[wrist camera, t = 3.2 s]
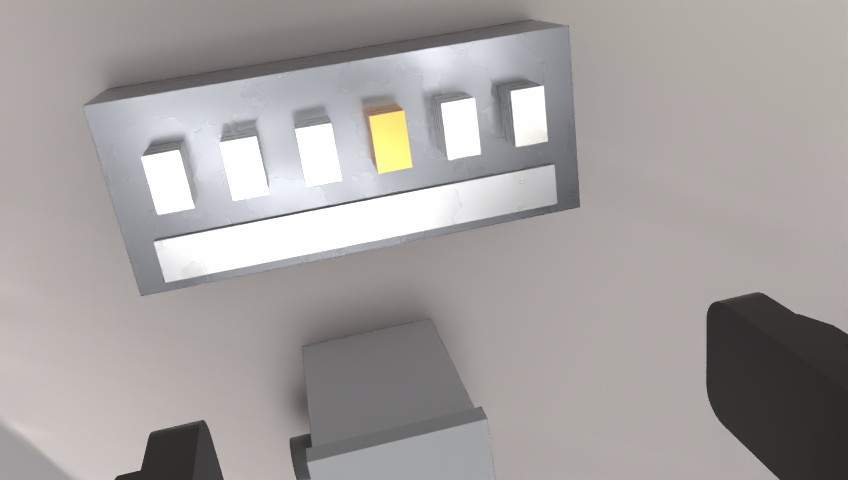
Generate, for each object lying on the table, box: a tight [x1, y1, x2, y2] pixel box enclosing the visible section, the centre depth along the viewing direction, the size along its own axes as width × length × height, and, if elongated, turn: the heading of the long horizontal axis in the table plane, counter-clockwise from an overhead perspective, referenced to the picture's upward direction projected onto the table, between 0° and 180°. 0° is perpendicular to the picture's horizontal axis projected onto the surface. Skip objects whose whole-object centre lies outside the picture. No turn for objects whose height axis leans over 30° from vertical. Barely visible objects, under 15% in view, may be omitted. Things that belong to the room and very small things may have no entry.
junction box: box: [290, 318, 495, 480], centre depth 30 cm, size 7×6×9 cm
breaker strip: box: [83, 20, 580, 296], centre depth 28 cm, size 17×7×6 cm, turn 98°
